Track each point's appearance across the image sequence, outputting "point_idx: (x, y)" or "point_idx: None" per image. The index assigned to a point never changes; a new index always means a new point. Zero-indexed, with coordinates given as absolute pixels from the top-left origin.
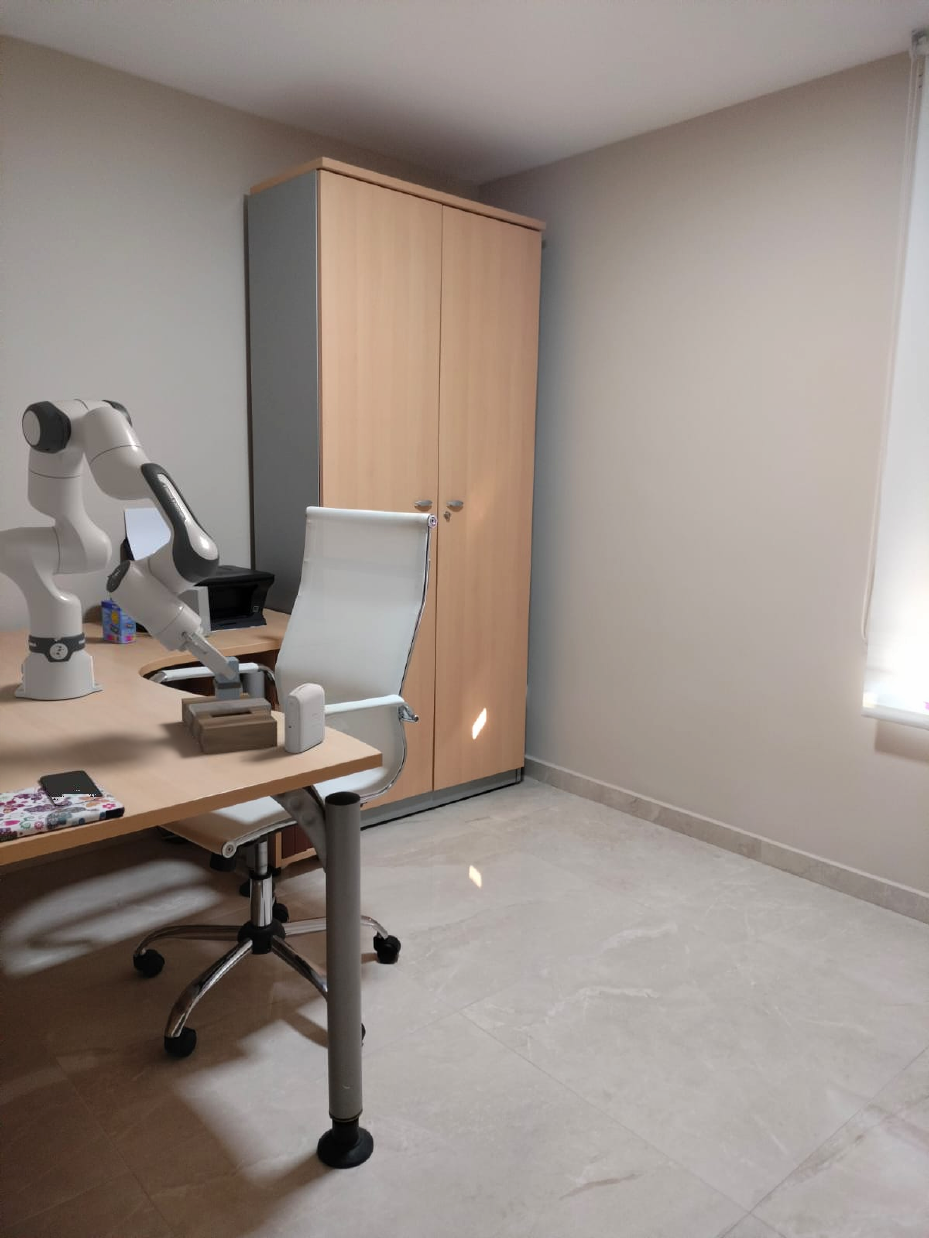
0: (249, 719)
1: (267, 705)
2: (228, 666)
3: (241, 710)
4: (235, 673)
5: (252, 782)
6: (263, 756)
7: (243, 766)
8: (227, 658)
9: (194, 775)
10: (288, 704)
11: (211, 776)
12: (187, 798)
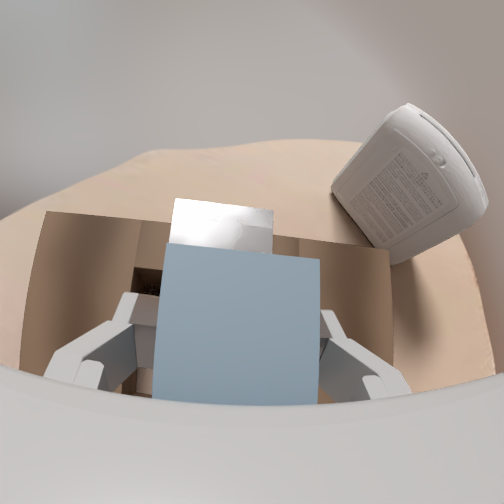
0: (354, 312)
1: (272, 221)
2: (373, 354)
3: None
4: (331, 312)
5: (488, 362)
6: (406, 317)
7: (438, 365)
8: (217, 316)
9: None
10: (471, 225)
11: None
12: None
